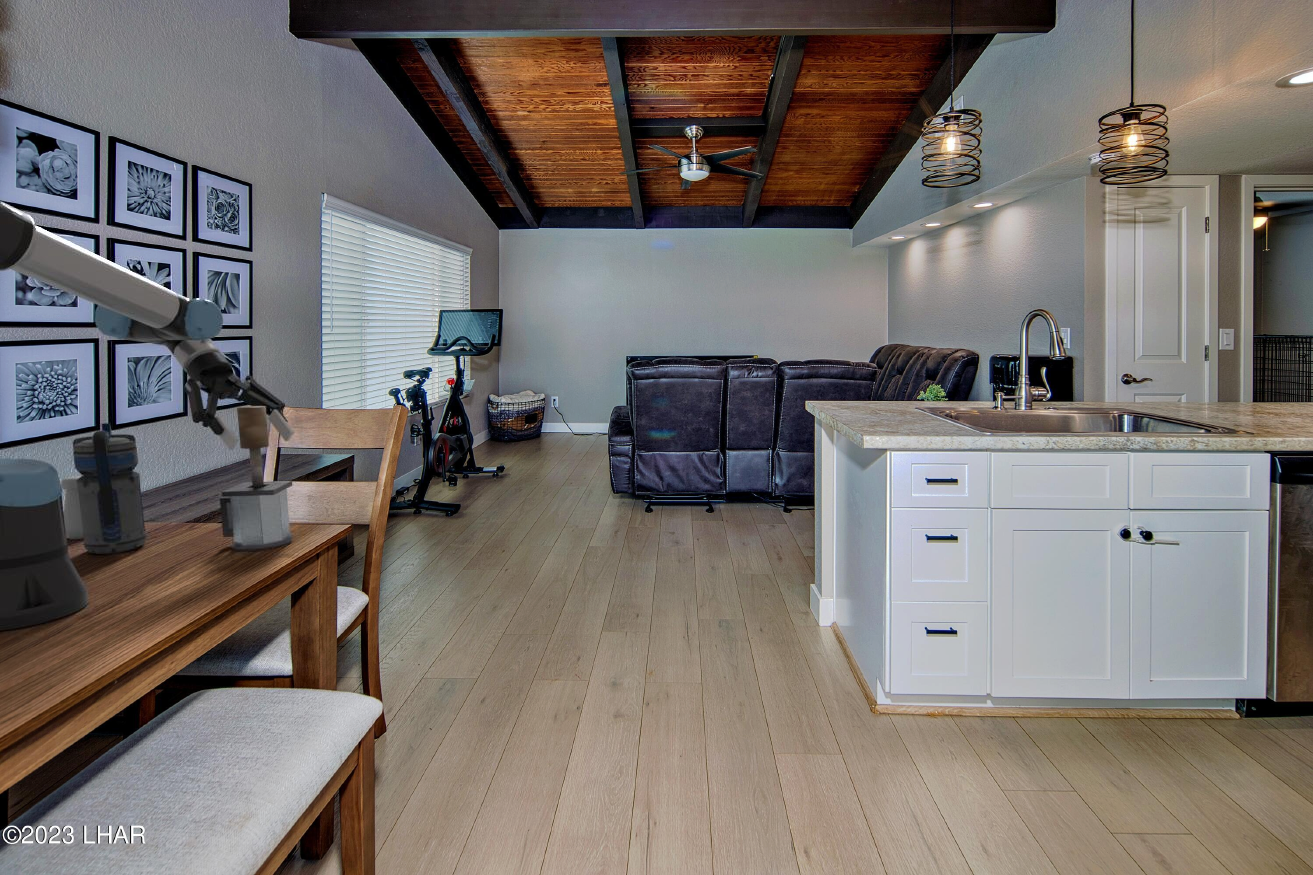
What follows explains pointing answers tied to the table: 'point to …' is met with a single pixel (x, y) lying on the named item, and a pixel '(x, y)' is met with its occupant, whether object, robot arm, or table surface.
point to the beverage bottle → (109, 492)
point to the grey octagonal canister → (256, 515)
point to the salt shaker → (72, 509)
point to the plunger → (253, 438)
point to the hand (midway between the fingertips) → (263, 440)
